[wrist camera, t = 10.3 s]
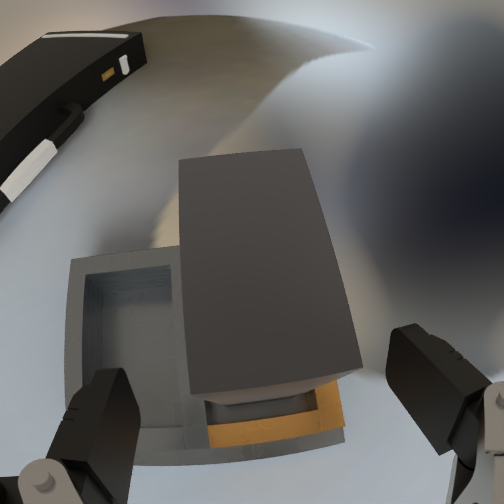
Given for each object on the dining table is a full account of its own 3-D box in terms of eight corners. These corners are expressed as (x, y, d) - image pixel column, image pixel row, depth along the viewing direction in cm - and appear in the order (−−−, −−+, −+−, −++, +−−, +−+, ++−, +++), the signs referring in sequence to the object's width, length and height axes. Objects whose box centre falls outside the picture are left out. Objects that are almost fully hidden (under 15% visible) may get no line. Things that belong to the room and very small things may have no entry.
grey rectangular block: (293, 396, 17) (362, 367, 7) (225, 406, 17) (190, 394, 7) (274, 288, 21) (301, 148, 10) (212, 296, 20) (178, 160, 10)
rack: (341, 441, 17) (361, 445, 13) (90, 460, 15) (61, 465, 12) (300, 243, 23) (309, 212, 20) (87, 268, 22) (65, 243, 19)
